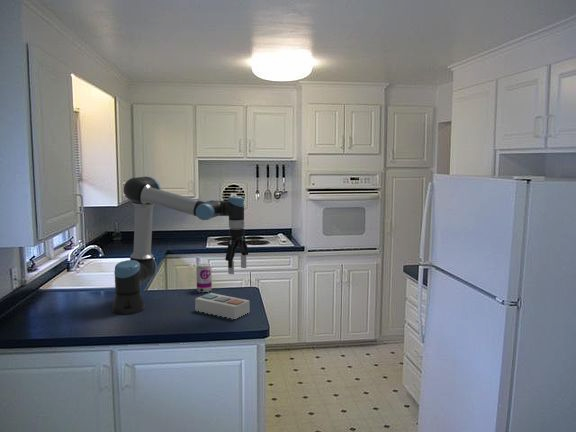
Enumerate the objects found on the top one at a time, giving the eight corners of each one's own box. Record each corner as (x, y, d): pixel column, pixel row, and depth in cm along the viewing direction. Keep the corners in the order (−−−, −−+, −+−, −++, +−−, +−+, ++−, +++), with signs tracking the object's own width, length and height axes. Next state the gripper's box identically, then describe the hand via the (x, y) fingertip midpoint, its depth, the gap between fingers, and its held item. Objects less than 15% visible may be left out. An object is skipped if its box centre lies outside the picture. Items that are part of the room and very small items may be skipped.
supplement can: (212, 292, 268) (212, 266, 266) (197, 293, 266) (197, 267, 264) (210, 288, 276) (210, 263, 274) (196, 289, 274) (195, 263, 272)
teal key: (210, 306, 236) (210, 298, 235) (201, 304, 238) (201, 296, 238) (217, 303, 240) (217, 295, 240) (208, 301, 243) (208, 293, 243)
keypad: (234, 319, 225) (234, 307, 224) (195, 310, 237) (195, 298, 236) (249, 312, 235) (249, 300, 234) (211, 304, 247) (211, 292, 246)
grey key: (223, 309, 232) (223, 301, 231) (214, 307, 234) (214, 299, 234) (230, 306, 236) (230, 298, 236) (221, 304, 239) (221, 296, 239)
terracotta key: (236, 312, 228) (236, 303, 227) (227, 310, 230) (227, 302, 230) (243, 309, 232) (243, 301, 232) (234, 307, 235) (234, 299, 235)
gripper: (231, 232, 222) (232, 277, 225) (254, 225, 246) (255, 266, 248) (217, 231, 225) (218, 276, 228) (241, 224, 248) (242, 265, 251)
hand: (237, 270), depth 238 cm, fingers open, 13 cm apart
